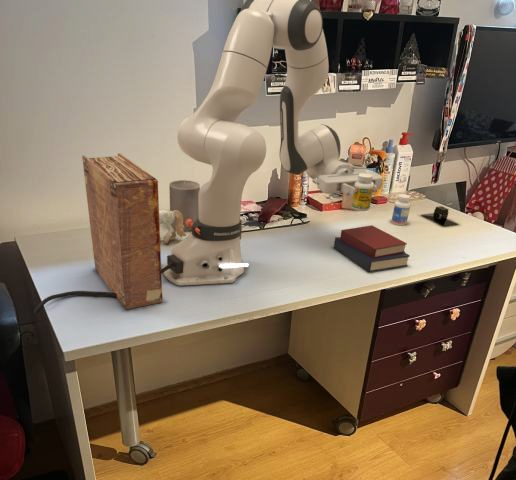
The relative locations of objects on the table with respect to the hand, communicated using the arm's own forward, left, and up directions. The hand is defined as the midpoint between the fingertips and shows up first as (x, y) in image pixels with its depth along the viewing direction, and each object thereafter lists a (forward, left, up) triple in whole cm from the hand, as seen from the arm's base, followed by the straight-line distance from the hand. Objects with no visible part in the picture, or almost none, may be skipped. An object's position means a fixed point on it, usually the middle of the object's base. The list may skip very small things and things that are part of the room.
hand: (365, 190), depth 152 cm
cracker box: (+27, +44, -20) cm, 55 cm away
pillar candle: (-41, +39, -20) cm, 60 cm away
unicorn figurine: (-55, +26, -20) cm, 64 cm away
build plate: (+50, +19, -20) cm, 57 cm away
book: (-69, +2, -20) cm, 72 cm away
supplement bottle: (0, +1, -6) cm, 6 cm away
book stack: (+4, -2, -20) cm, 21 cm away
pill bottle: (+33, +21, -20) cm, 44 cm away
